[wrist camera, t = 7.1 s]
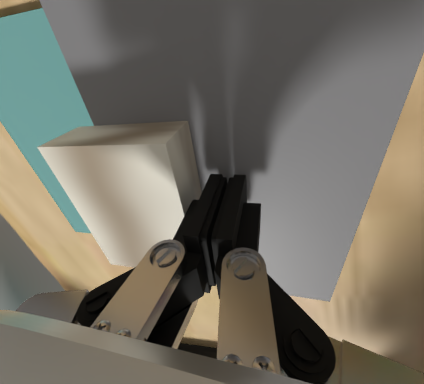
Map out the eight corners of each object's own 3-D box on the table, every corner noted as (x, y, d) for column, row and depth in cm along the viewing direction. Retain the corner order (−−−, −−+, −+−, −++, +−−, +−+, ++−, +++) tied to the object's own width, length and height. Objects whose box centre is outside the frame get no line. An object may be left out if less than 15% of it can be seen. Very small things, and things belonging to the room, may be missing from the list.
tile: (187, 120, 10) (165, 143, 8) (211, 243, 14) (200, 277, 12) (78, 126, 11) (36, 147, 9) (131, 235, 16) (110, 264, 14)
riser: (407, -73, 8) (498, -146, 5) (320, 254, 18) (329, 301, 15) (101, -4, 11) (31, -17, 8) (176, 239, 21) (159, 275, 18)
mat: (101, -4, 11) (96, -5, 11) (176, 239, 21) (174, 242, 21) (-53, 31, 14) (-61, 31, 14) (77, 229, 24) (75, 231, 24)
